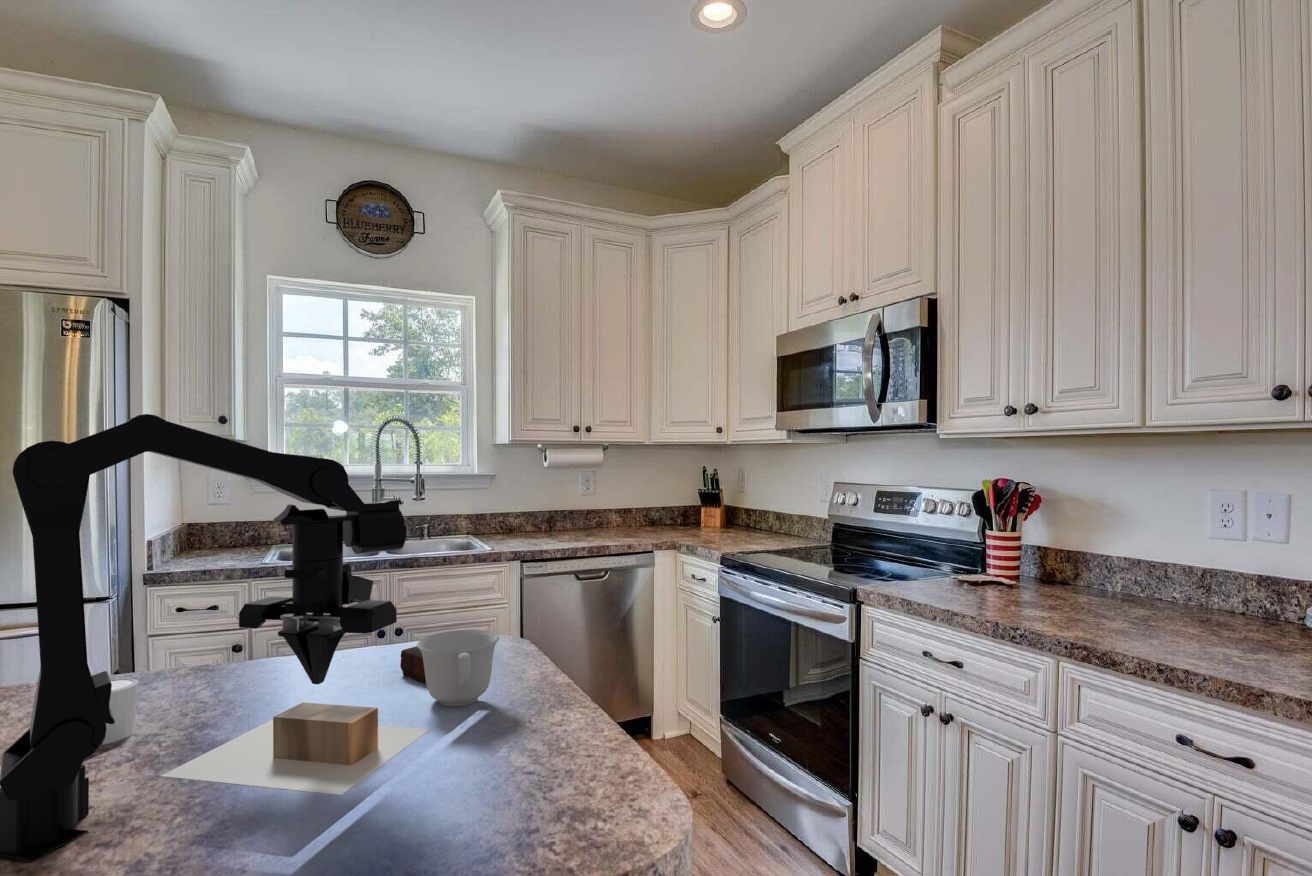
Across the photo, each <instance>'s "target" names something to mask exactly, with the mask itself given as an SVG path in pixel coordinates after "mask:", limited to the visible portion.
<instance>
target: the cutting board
mask: <svg viewBox="0 0 1312 876" xmlns="http://www.w3.org/2000/svg"><path fill="white" fill-rule="evenodd" d="M429 731H431V728H430V729H428V728H418V727H417V728H416V727H406V726H405V727H404V726H395V725H393V726H391V725H379V724H378V748H377V749H375V750H374V751H373V752H371V753H370V754H368V755H367V756H365V757H364V758H362V759H361V760H360V761H358V762H357V763H355V764H354V765H342V764H331V763H320V762H310V761H299V760H288V759H278V758H273V719H271V720H269V721H268V722H265V723H262V724H261V725H259V726H257V727H255V728H253V729H251V730H249V731H247V732H245V733H243V734H242V735H241V734H240V735H239V736H237V737H235V738H233V739H231V740H229V741H227V742H225V743H223V744H221V745H219V746H217V747H215V748H213V749H211V750H209V751H208V752H206V753H202V754H201V755H199V756H197V757H195V758H193V759H192V760H189V761H188V762H186V763H183V764H182V765H180V766H178V767H175V768H173V769H171V770H169V771H167V772H166V773H163V774H162V775H160V777H163V778H172V779H183V780H192V781H201V782H212V783H220V784H231V785H240V786H249V787H258V788H259V787H260V788H267V789H268V788H269V789H278V790H286V791H296V792H306V793H315V794H316V793H318V794H324V795H335V796H343V795H345V794H346V793H347V792H349V791H350V790H351V789H352V788H354V787H355V786H356V785H358V784H359V783H361V782H362V781H363V780H365V779H366V778H367V777H368V776H370V775H371V774H373V773H374V772H375V771H377V770H378V769H379V768H380V767H382V766H384V765H386V763H387V762H389V761H390V760H392V759H393V758H394V757H396V756H397V755H398V754H399V753H401V752H402V751H404V750H405V749H406V748H408V747H409V746H411V745H412V744H413V743H414V742H416V741H417V740H418V739H420V738H422V736H424V735H426V734H427V733H428V732H429Z"/></svg>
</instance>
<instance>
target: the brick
mask: <svg viewBox="0 0 1312 876" xmlns="http://www.w3.org/2000/svg"><path fill="white" fill-rule="evenodd" d="M400 670H401V672H402V675H403V677H404V676H406V677H405V678H407V677H409V678H408V679H411V680H413V681H415V680H416V681H415V682H417V683H420V682H421V684H423V683H424V685H426V678H425V670H424V662H423V657H422V653H421V650H420V649H419V648H418V647H417V645H416V646H413V647H408V648H405V649H402V650H401V651H400Z"/></svg>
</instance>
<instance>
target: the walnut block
mask: <svg viewBox="0 0 1312 876" xmlns="http://www.w3.org/2000/svg"><path fill="white" fill-rule="evenodd" d="M272 717H273V719H272V720H273V758H278V759H288V760H299V761H310V762H320V763H331V764H342V765H354V764H355V763H357V762H358V761H360V760H361V759H362V758H364V757H365V756H367V755H368V754H370V753H371V752H373V751H374V750H375V749H377V748H378V725H379V708H378V707H372V706H371V707H370V706H357V705H343V704H331V703H315V702H314V703H313V702H300V703H299V704H296V705H295V706H292V707H291V708H289V709H286V710H284V711H283V712H281V713H279V714H276V715H274V716H272Z"/></svg>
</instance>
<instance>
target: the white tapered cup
mask: <svg viewBox="0 0 1312 876" xmlns="http://www.w3.org/2000/svg"><path fill="white" fill-rule="evenodd" d="M110 681H111V684H112V687H111V696H110V702H109V705H110V708H111V711H112V714H113V717H114V720H115V723H114V724H108V723H106V735H105V739H104V741H103V743H102V745H108V744H113V743H117V742H119V741H122V740H124V739H127V738H128V737H130V736H132V735H133V733H134V731H135V730H134V728H135V721H136V712H137V703H138V694H139V687H140V686H139V685H140V681H139V679H136V678H116V679H110ZM102 745H101V746H102Z"/></svg>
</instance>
